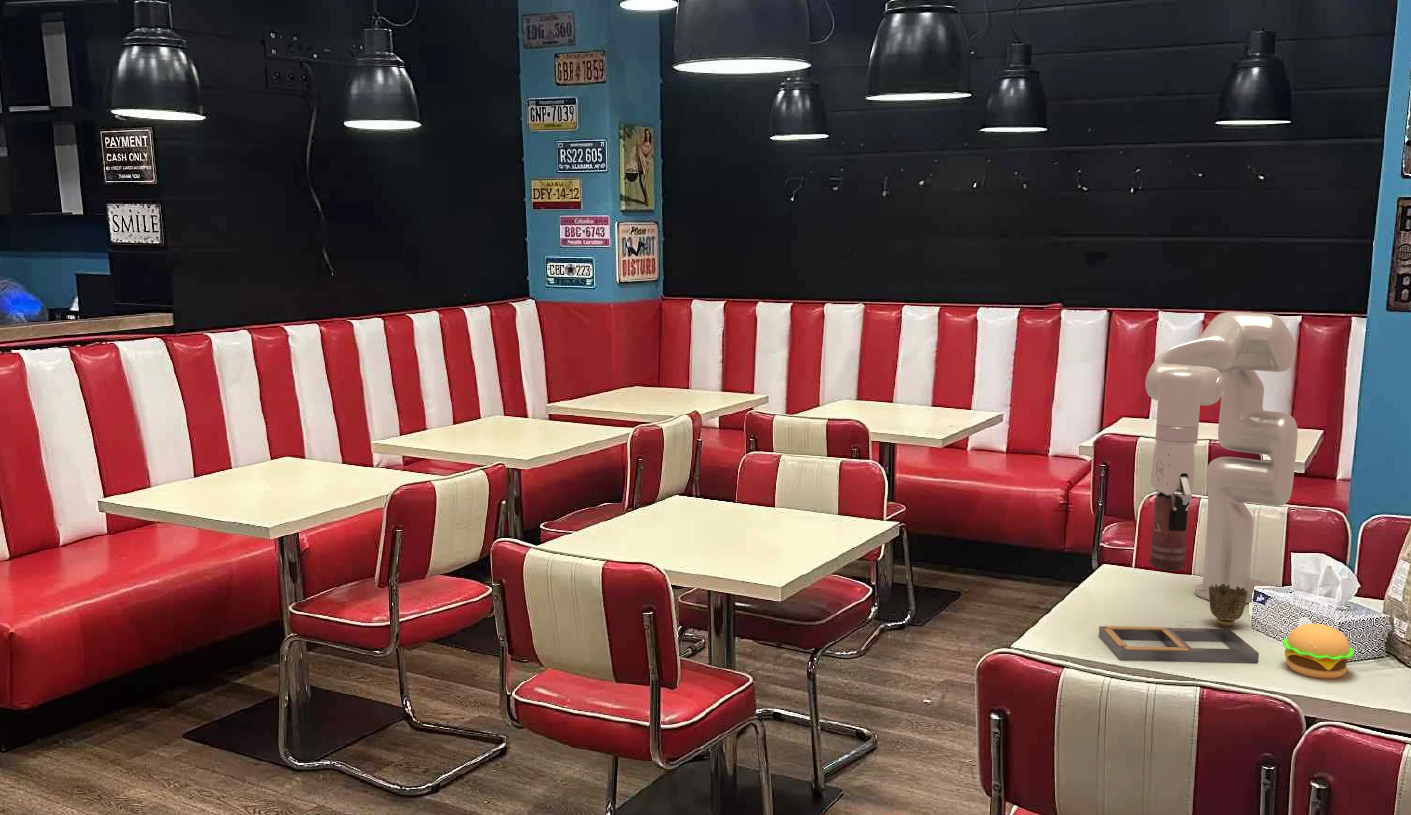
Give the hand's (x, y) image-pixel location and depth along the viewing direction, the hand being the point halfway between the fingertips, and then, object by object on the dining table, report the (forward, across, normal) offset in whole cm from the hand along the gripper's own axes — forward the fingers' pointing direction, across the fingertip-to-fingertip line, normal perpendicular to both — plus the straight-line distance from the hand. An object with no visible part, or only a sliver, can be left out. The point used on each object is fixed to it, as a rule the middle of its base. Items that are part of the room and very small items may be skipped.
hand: (1170, 525), depth 235 cm
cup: (+25, -15, +19) cm, 35 cm away
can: (+8, 0, 0) cm, 8 cm away
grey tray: (+25, 0, +3) cm, 25 cm away
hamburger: (+25, +10, +25) cm, 37 cm away
